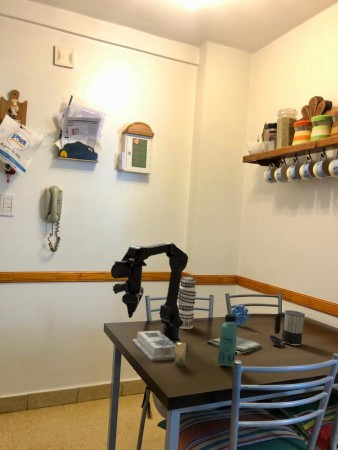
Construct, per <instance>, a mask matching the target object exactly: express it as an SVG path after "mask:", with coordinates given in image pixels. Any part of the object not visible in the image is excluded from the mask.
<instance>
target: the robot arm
mask: <svg viewBox="0 0 338 450" xmlns="http://www.w3.org/2000/svg"><path fill="white" fill-rule="evenodd" d="M161 254H165V256H167V258H168V264H169V268H170V276H169V282H168V287H167V293H166V300H165V302H164V304H161V305H160V310H159V313H158V314H159V318H160V320H161V321H160V322H161V324H163V327H162V332H161V333H162V334H163V335H165V336H166V337H167V338H168V339H170V340H171V341H180V337H179V331H180V329H181V328H180V327H182V324H183V321H182V320H181V319H180V317H179V309H178V308H179V304H178V301H179V299H178V297H179V295H178V294H179V293H180V292H179V288H180V286H181V279H182V274H183V271H185V269H186V268H187V264H188V261H189V256H188V254H187V253H186V252H185V251H183V250H182V249H181V248H179V247H178V246H177V245H176V244H175V243H173V242H169V241H168V242H167V241H166V242H163V243H157V244H153V245H147V246H142V245H130V246H129V247H128V249H127V251H126V253H125V254H124V256H123V257H122V259H121V261H119V260H115V261H114V264H113V265H112V266H111V268H110V275H111V277H112V279H116V280H117V279H125V278H127V279H126V280H125V281H124V282H118V283H115V284H114V285H112V291H113V294H115V295H117V294H119V293H122V292H124V294H123V295H122V298H121V302H122V303H123V304H124V305H125V306H126V309H127V317H128V318H129V319H131V318H132V317H133V315H134V313H135V312H136V310H137V309H138V306H139V304H140V302H141V300H142V298H143V295H144V293H145V291H144V290H145V289H144V287H143V286H142V282H143V278H142V277H143V267H147V266H148V265H147V263H146V262H145V260H148V259H149V257H152V256H156V255H161Z"/></svg>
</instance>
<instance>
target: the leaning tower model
mask: <svg viewBox="0 0 338 450" xmlns="http://www.w3.org/2000/svg"><path fill="white" fill-rule="evenodd" d="M196 282H197V281H196V279H195V277H192V276H191V277H190V276H183V277H181V281H180V287H179V294H178V300H177V304H178V309H179V317H180V319H181V320H182V321H183V324H182V327H180V328H179V329H183V330H190V329H193V327H194V326H193V325H194V316H195V313H194V312H195V311H194V308H195V307H194V306H195V304H196V302H195V301H196V298H195V297H197V295H196V294H197V292H196V289H197V288H196V284H197V283H196Z"/></svg>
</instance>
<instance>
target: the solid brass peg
mask: <svg viewBox="0 0 338 450" xmlns="http://www.w3.org/2000/svg"><path fill="white" fill-rule="evenodd" d="M175 344H176V346H175V357H174V359H173V365H174V366H176V367H184V366H185V363H186V351H187V350H186V349H187V342H185V341H175Z"/></svg>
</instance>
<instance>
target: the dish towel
mask: <svg viewBox="0 0 338 450" xmlns="http://www.w3.org/2000/svg"><path fill="white" fill-rule="evenodd" d="M219 343H220V337H217V338H214V339H210V340H207V341H206V344H208V345H211V346H213V347H215V348H218V349H219V345H220V344H219ZM259 347H261V348H262V344H260V343H258V342H255V341H253V340H250V339H246V338H242V337H239V336H237V339H236V350H235V352H236V354H235V355H236V356H241V355H243V353H244V354H246V352H247V353H250V352H252V350H253V351H255V350H254V349H256V350H258V349H257V348H259ZM259 349H260V348H259Z"/></svg>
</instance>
